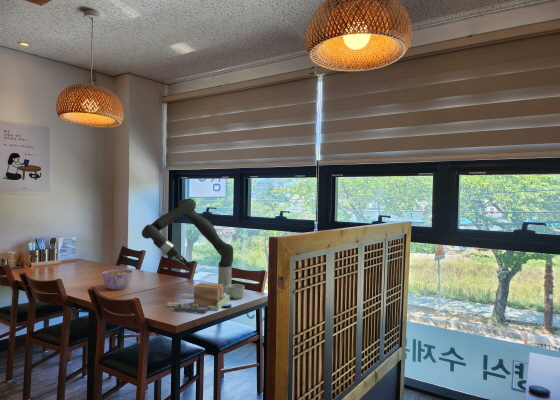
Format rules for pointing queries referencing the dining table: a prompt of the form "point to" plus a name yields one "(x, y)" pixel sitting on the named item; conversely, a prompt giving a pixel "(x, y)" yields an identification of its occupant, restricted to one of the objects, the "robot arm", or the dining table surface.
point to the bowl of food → (117, 278)
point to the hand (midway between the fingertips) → (190, 267)
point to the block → (208, 294)
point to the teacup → (235, 290)
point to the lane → (195, 307)
